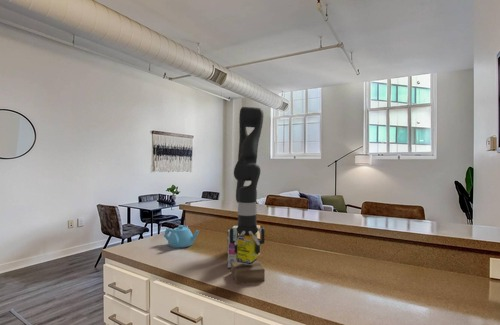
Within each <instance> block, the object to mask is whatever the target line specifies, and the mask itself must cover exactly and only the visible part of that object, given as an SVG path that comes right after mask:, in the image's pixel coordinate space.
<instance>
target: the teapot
mask: <svg viewBox="0 0 500 325" xmlns="http://www.w3.org/2000/svg"><path fill="white" fill-rule="evenodd" d="M199 232H200V229H199V230H198V229H196V231H195V232H194V233H192V231H191V229H190V228H189V227H188V225H182V224H181V225H180V224H179V225H178V227H175V228H170V227H167V228H166V229H165V232H164V234H163V237H164V238H165V240H167V243H168V245H169V246H170V247H171V248H174V249H175V248H176V249H182V248H188V247H190V246H192V245H193V244H194V242H195V241H196V238H197V236H198V234H199Z"/></svg>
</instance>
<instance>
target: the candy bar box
mask: <svg viewBox="0 0 500 325" xmlns="http://www.w3.org/2000/svg"><path fill="white" fill-rule="evenodd" d="M232 227H233V228H237V227H238V225H233V226H232ZM238 235H239V233H238V232H237V231H235V233H234V236H233V240H236V239H237V238H238ZM226 248H227V252H226V254H227V257H226V258H227V259H226V262H227V263H226V264H227V265H226V268H227V269H231V262H238V255H237V254H236V253H235V245H234V244H232V243H230V228H229V229H228V230H227V247H226Z"/></svg>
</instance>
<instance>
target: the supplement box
mask: <svg viewBox="0 0 500 325" xmlns="http://www.w3.org/2000/svg"><path fill="white" fill-rule="evenodd" d="M238 237H239V239H238V254H237V255H238V262H241V263H246V264H250V265H251V264H252V263H253V262H255V261H256V260H257V261H258V254H257V244H256V242H255V241H254V240H253V235H238ZM255 237H257V238H258V233H256V234H255Z"/></svg>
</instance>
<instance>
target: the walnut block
mask: <svg viewBox="0 0 500 325" xmlns="http://www.w3.org/2000/svg"><path fill="white" fill-rule="evenodd" d="M265 270H266V269H265V267H263V265H262V264H261V263H260V262H259V261H258V259H257V260H256V261H255V262H253V263H252V264H251V265H250V264H246V263H241V262H231V268H230V271H231V272H230V273H231V276H232V277H233V280H234V281H235V283H237V284H236V285H241V284H242V283H244V284H252V283H260V282H265V280H266V278H265V277H266V276H265V272H266V271H265Z"/></svg>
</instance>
